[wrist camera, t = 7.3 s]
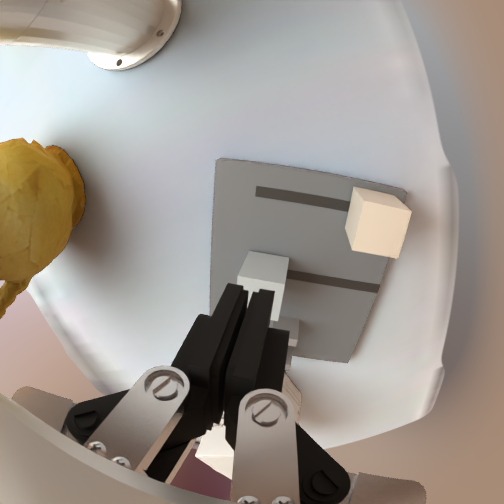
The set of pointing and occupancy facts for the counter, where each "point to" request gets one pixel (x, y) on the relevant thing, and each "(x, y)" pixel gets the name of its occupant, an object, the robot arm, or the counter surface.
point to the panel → (298, 250)
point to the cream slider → (376, 222)
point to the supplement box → (217, 448)
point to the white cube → (264, 277)
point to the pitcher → (34, 211)
